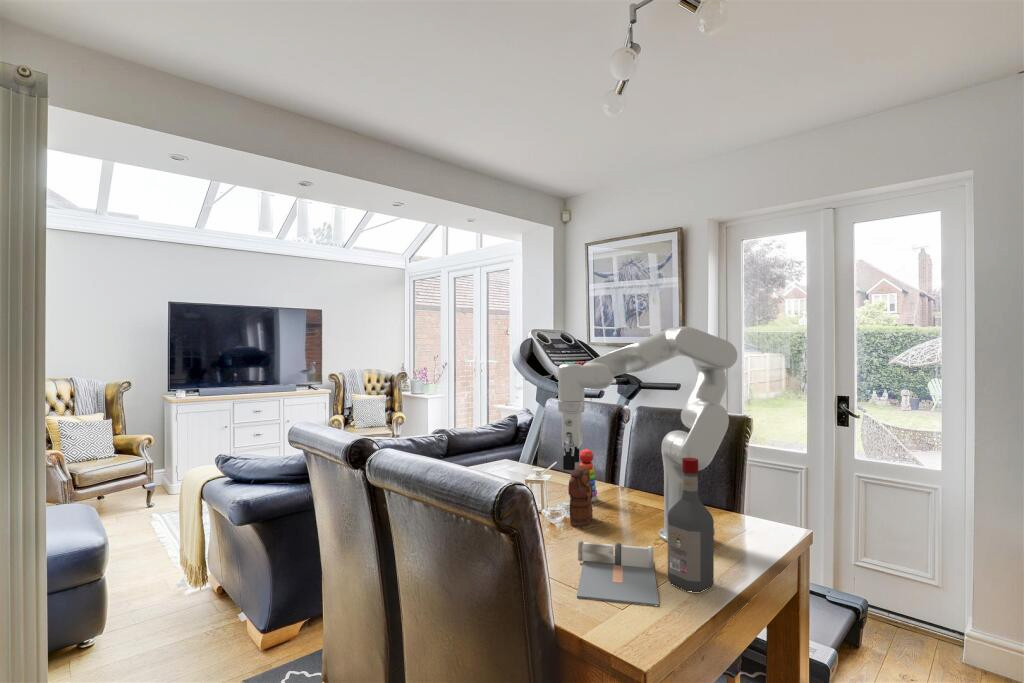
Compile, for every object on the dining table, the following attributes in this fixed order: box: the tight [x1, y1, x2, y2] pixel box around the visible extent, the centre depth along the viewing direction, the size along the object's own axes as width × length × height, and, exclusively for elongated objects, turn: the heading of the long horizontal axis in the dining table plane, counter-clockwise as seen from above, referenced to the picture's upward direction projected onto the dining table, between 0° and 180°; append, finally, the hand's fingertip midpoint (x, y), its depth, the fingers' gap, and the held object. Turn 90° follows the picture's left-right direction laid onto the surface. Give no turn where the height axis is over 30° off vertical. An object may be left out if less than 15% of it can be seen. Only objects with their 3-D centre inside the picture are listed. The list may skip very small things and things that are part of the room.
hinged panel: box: [577, 540, 614, 563], centre depth 136 cm, size 9×1×5 cm, turn 78°
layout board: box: [576, 542, 660, 607], centre depth 128 cm, size 18×24×6 cm
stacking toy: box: [579, 448, 598, 503], centre depth 191 cm, size 8×8×19 cm
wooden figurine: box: [567, 464, 594, 527], centre depth 168 cm, size 12×6×18 cm, turn 157°
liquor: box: [667, 458, 715, 593], centre depth 125 cm, size 9×9×30 cm
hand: (571, 465), depth 149 cm, fingers open, 9 cm apart
